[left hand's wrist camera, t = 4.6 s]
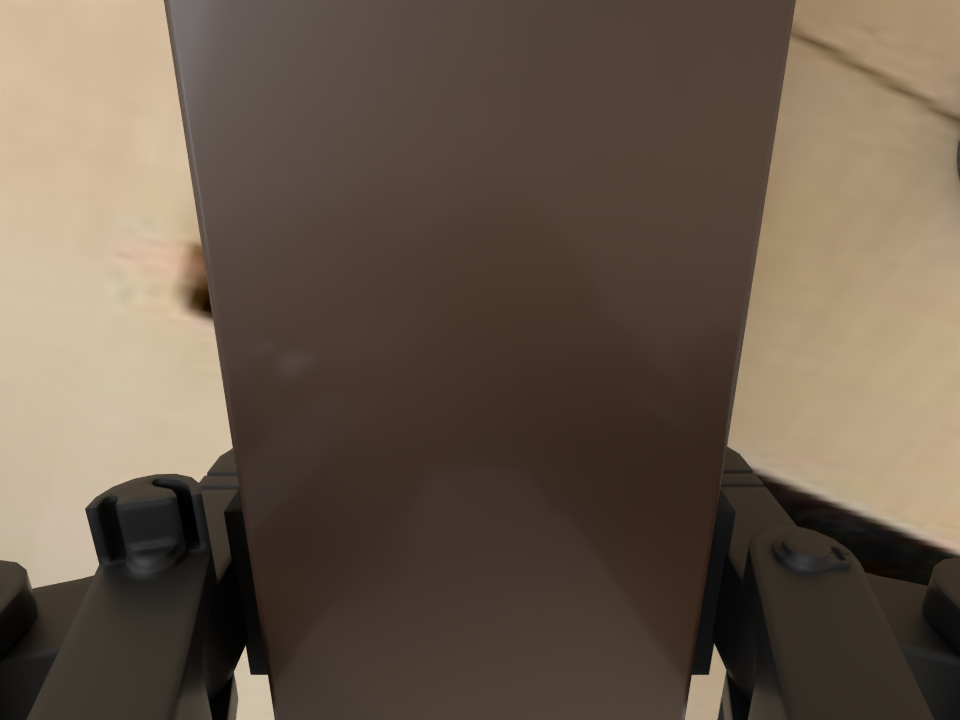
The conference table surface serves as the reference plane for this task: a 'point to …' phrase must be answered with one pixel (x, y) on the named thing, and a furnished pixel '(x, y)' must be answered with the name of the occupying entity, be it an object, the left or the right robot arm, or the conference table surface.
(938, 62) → the conference table surface
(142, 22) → the conference table surface
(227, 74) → the bar
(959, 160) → the puck
